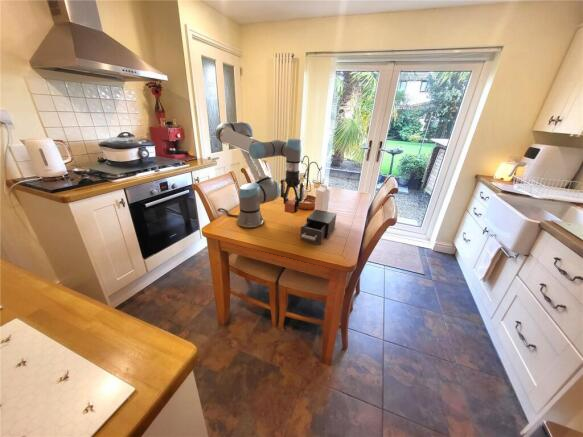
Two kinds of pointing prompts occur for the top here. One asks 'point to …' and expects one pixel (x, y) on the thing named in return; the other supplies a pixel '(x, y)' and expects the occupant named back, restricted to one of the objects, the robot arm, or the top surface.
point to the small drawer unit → (324, 220)
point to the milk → (322, 198)
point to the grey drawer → (313, 232)
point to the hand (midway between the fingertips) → (291, 210)
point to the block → (290, 206)
